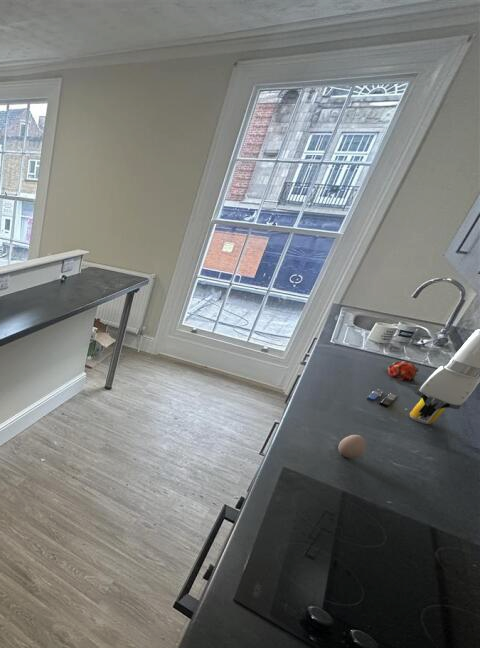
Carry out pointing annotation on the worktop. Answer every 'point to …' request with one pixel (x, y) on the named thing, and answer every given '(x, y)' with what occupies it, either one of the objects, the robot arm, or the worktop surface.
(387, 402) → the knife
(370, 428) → the worktop surface
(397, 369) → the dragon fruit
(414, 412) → the beer can
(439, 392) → the robot arm
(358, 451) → the egg
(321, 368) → the worktop surface
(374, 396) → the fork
